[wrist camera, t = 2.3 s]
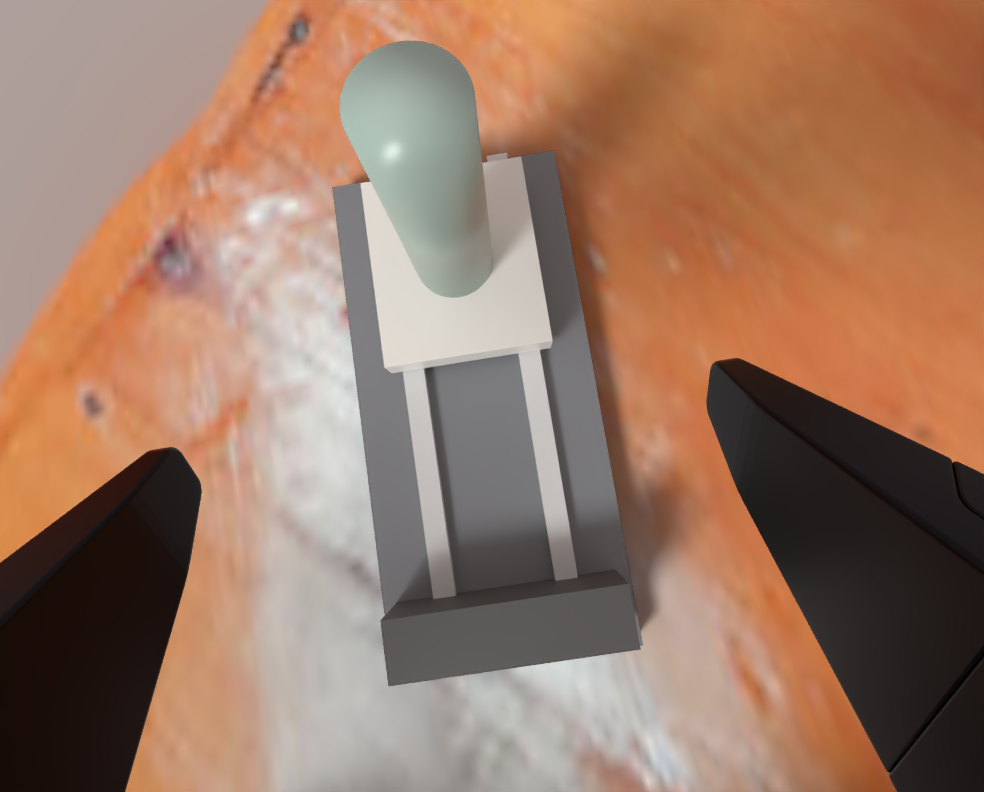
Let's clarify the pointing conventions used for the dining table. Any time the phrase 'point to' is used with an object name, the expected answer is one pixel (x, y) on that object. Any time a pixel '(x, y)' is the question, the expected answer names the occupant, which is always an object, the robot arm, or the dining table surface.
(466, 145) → the carriage
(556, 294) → the rail track
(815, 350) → the dining table surface
